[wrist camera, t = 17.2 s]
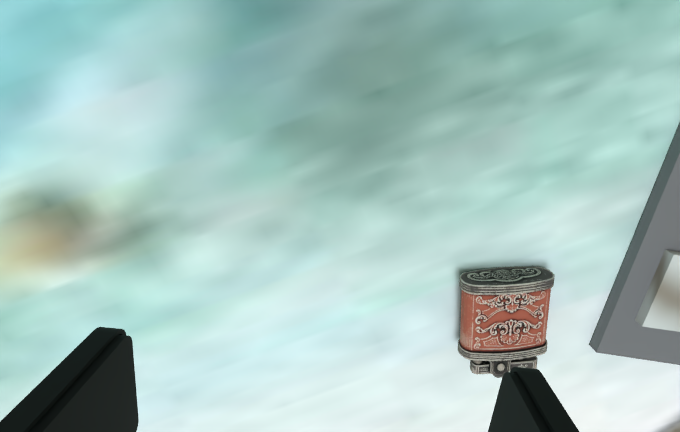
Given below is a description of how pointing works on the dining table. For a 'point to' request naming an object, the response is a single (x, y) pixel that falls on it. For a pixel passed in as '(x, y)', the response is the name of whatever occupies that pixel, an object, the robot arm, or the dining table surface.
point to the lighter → (504, 317)
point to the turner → (663, 296)
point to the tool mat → (645, 274)
